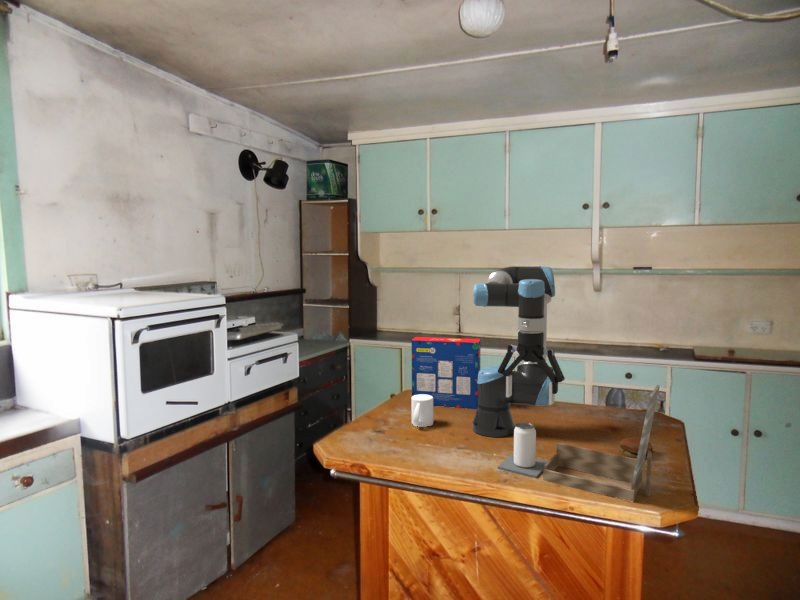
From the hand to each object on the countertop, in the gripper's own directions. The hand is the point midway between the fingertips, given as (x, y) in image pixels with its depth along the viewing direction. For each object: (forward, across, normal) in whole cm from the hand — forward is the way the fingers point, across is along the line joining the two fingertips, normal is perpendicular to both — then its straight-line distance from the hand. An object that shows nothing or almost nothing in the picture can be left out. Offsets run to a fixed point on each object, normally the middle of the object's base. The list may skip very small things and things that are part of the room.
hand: (529, 399), depth 159 cm
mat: (+20, 0, -3) cm, 20 cm away
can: (+20, 0, -3) cm, 20 cm away
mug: (+21, -46, +10) cm, 52 cm away
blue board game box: (+21, -52, +38) cm, 68 cm away
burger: (+21, +25, +26) cm, 42 cm away
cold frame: (+20, +22, -3) cm, 29 cm away
